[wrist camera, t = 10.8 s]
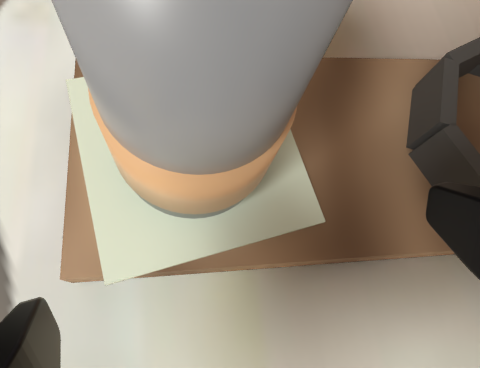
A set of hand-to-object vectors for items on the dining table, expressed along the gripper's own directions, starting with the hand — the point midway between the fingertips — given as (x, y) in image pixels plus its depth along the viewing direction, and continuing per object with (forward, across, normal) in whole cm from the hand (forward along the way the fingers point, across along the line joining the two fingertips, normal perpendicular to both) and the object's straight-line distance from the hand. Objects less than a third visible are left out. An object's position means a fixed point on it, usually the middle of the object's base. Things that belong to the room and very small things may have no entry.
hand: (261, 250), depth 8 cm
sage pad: (+9, 0, +1) cm, 9 cm away
